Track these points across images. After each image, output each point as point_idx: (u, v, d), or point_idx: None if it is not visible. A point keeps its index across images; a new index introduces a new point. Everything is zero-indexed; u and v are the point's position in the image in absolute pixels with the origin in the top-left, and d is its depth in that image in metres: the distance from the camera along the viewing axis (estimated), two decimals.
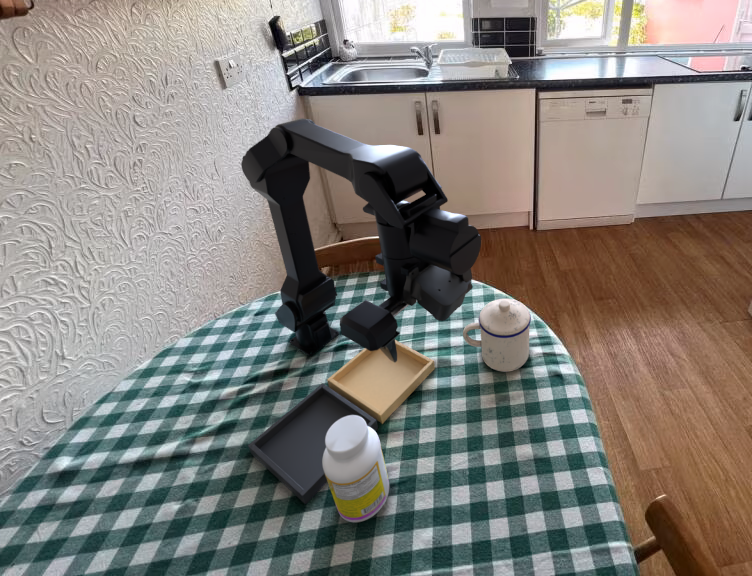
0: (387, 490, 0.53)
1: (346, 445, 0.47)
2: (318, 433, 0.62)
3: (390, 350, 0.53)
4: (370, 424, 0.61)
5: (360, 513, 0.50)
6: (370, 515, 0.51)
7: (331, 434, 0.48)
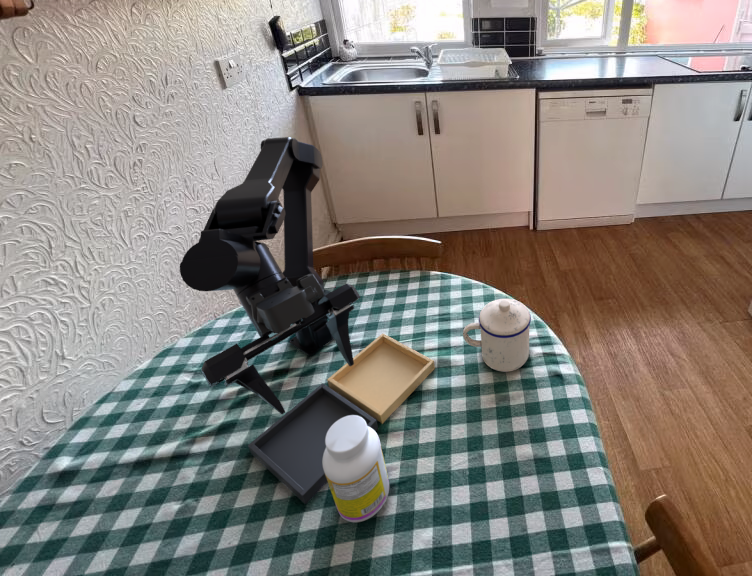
0: (387, 490, 0.53)
1: (346, 445, 0.47)
2: (318, 433, 0.62)
3: (261, 394, 0.49)
4: (370, 424, 0.61)
5: (360, 513, 0.50)
6: (370, 515, 0.51)
7: (331, 434, 0.48)
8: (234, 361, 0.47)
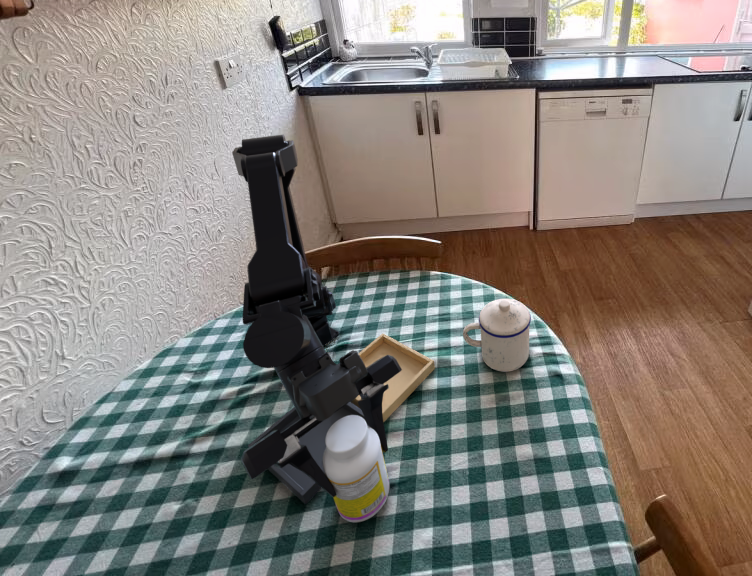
0: (387, 490, 0.53)
1: (346, 445, 0.47)
2: (318, 433, 0.62)
3: (313, 476, 0.47)
4: None
5: (360, 513, 0.50)
6: (370, 515, 0.51)
7: (331, 434, 0.48)
8: (276, 451, 0.45)
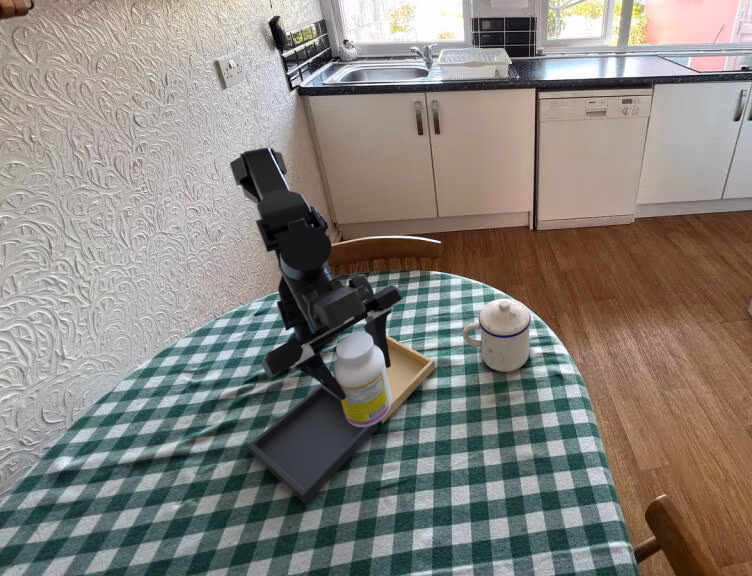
0: (390, 402, 0.60)
1: (355, 353, 0.54)
2: (318, 433, 0.62)
3: (325, 380, 0.53)
4: None
5: (366, 418, 0.57)
6: (375, 421, 0.58)
7: (341, 345, 0.55)
8: (293, 354, 0.51)
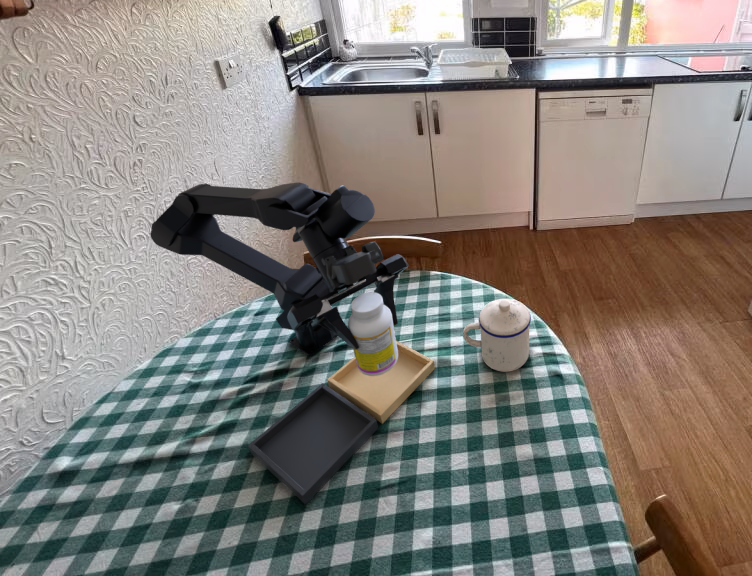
0: (396, 356, 0.68)
1: (367, 308, 0.62)
2: (318, 433, 0.62)
3: (341, 331, 0.62)
4: (370, 424, 0.61)
5: (376, 367, 0.65)
6: (383, 371, 0.66)
7: (355, 302, 0.63)
8: (315, 306, 0.60)
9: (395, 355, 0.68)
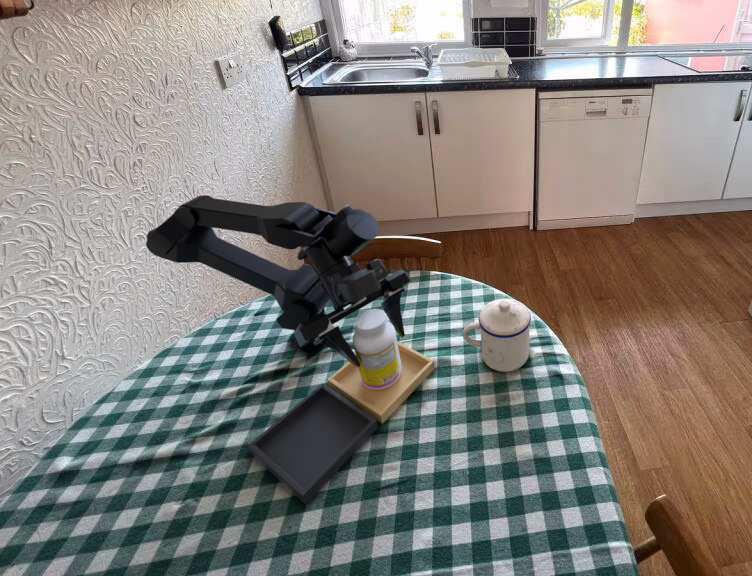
0: (400, 370, 0.70)
1: (371, 325, 0.64)
2: (318, 433, 0.62)
3: (343, 349, 0.63)
4: (370, 424, 0.61)
5: (380, 381, 0.67)
6: (388, 385, 0.68)
7: (360, 319, 0.65)
8: (322, 324, 0.61)
9: (399, 369, 0.70)
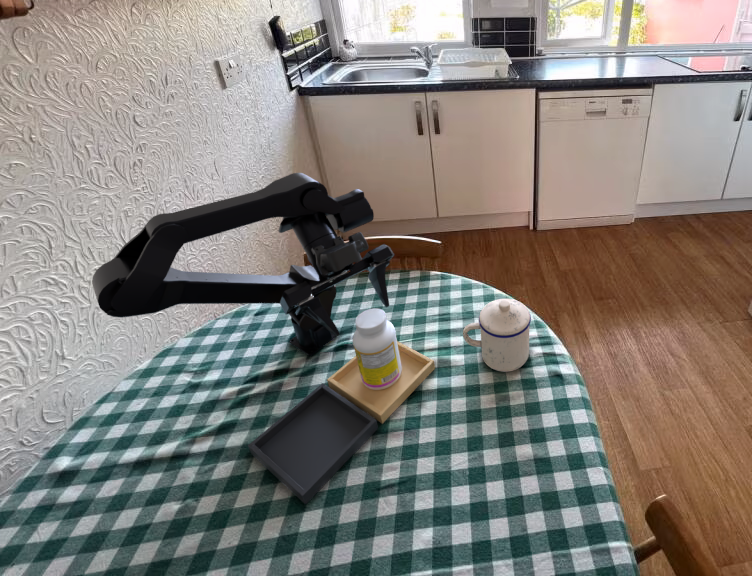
0: (400, 370, 0.70)
1: (371, 324, 0.64)
2: (318, 433, 0.62)
3: (323, 319, 0.66)
4: (370, 424, 0.61)
5: (380, 381, 0.67)
6: (388, 385, 0.68)
7: (359, 319, 0.65)
8: (305, 292, 0.65)
9: (399, 369, 0.70)
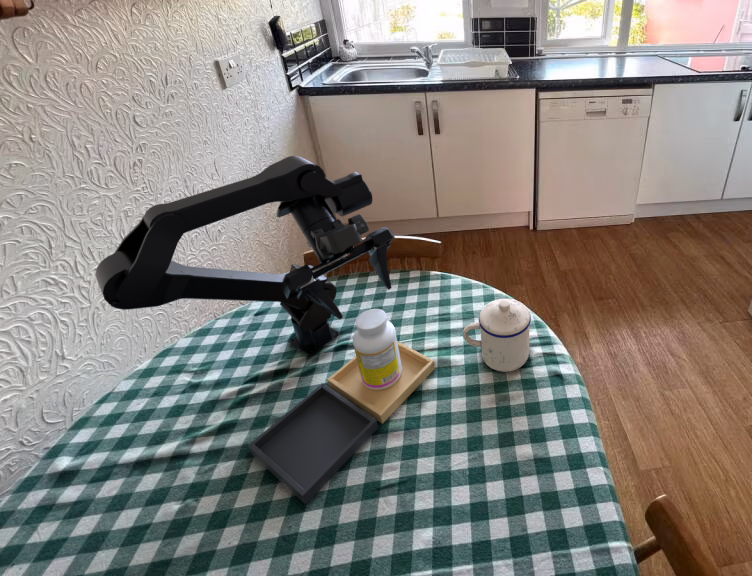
0: (400, 370, 0.70)
1: (371, 325, 0.64)
2: (318, 433, 0.62)
3: (325, 302, 0.65)
4: (370, 424, 0.61)
5: (380, 381, 0.67)
6: (388, 385, 0.68)
7: (360, 319, 0.65)
8: (306, 275, 0.64)
9: (399, 369, 0.70)
